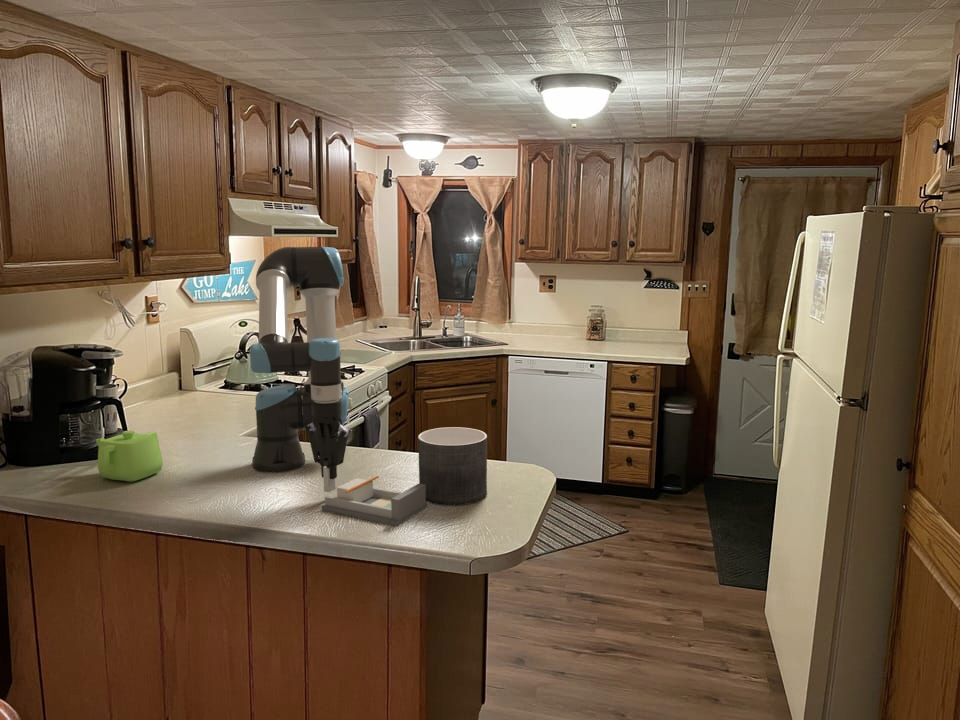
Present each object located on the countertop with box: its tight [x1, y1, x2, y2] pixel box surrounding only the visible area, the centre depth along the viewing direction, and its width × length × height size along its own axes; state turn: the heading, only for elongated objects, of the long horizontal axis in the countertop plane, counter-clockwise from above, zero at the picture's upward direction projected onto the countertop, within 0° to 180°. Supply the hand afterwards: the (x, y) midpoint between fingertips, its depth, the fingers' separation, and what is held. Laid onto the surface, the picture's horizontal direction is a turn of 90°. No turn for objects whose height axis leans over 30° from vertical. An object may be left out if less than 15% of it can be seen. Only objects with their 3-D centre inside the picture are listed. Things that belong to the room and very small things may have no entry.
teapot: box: [95, 430, 164, 483], centre depth 204 cm, size 18×20×13 cm
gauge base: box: [321, 483, 429, 527], centre depth 179 cm, size 22×14×6 cm, turn 63°
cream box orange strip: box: [336, 475, 379, 502], centre depth 182 cm, size 6×13×5 cm, turn 153°
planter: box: [417, 426, 488, 506], centre depth 189 cm, size 18×18×16 cm
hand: (329, 490), depth 185 cm, fingers closed
